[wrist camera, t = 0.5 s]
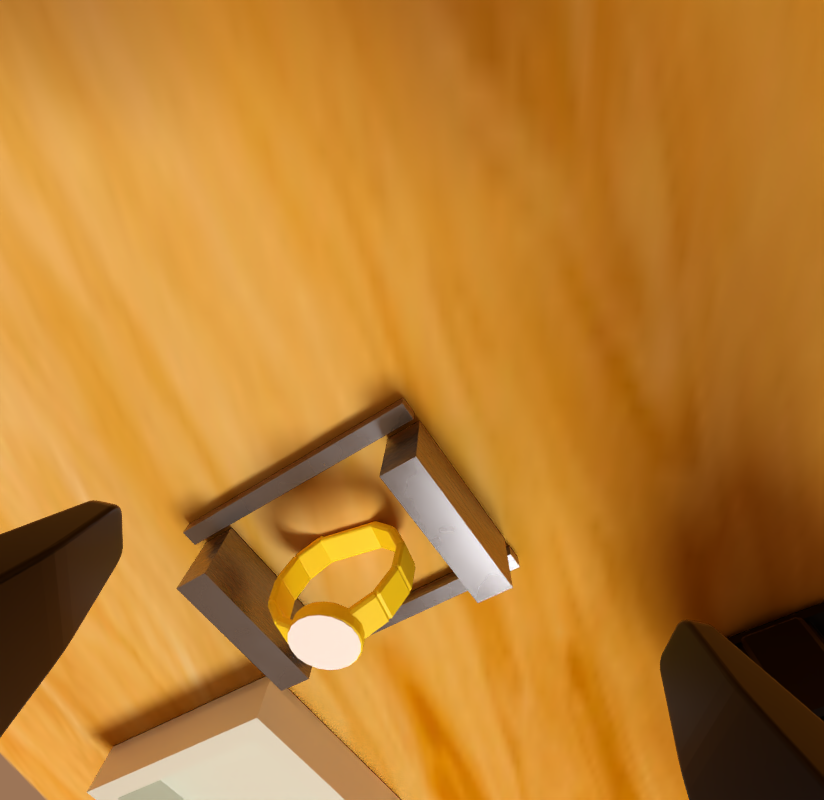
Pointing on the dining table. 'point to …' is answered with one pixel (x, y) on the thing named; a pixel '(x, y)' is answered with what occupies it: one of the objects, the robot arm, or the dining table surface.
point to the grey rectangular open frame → (415, 490)
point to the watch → (332, 623)
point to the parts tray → (239, 755)
